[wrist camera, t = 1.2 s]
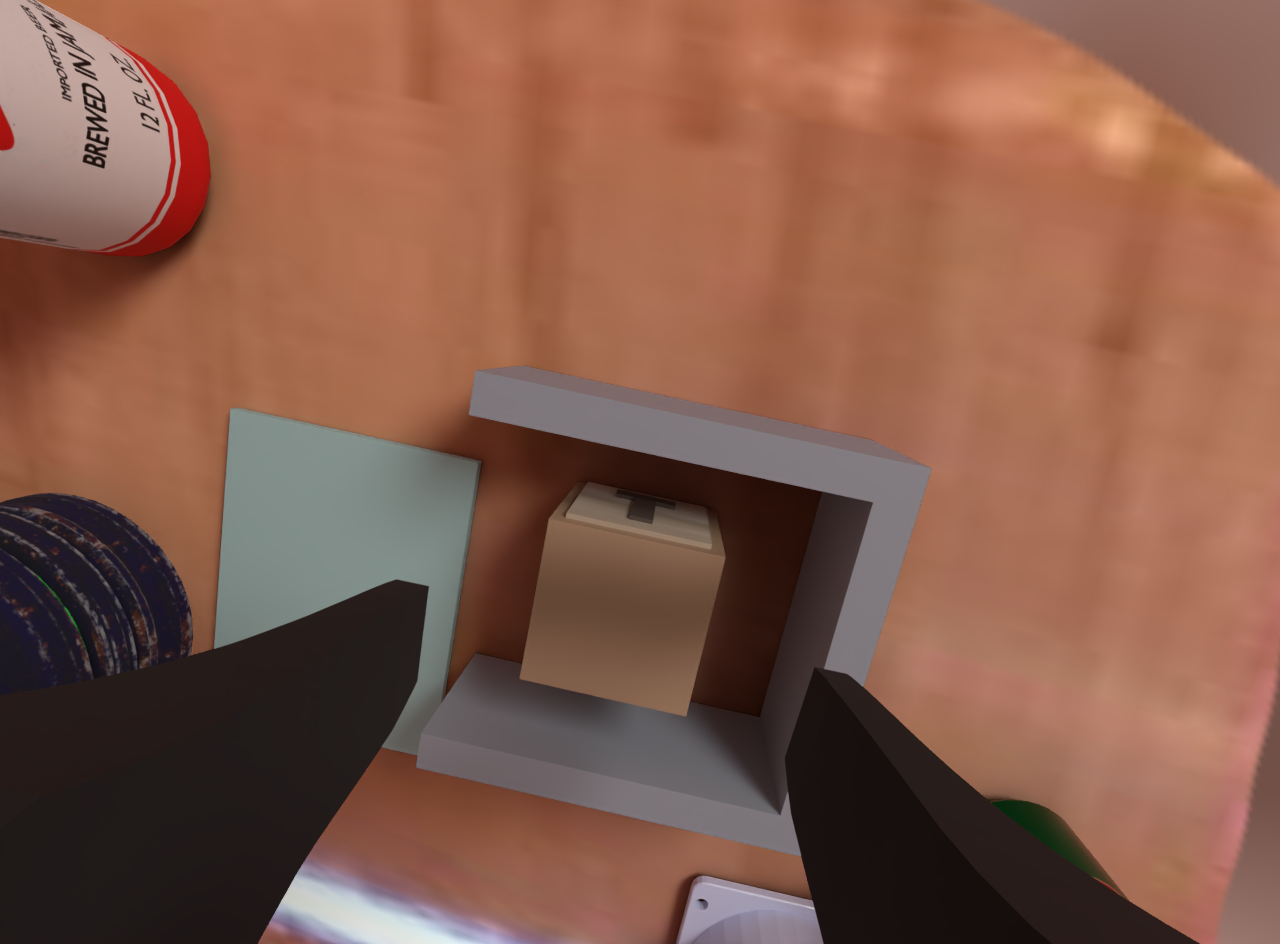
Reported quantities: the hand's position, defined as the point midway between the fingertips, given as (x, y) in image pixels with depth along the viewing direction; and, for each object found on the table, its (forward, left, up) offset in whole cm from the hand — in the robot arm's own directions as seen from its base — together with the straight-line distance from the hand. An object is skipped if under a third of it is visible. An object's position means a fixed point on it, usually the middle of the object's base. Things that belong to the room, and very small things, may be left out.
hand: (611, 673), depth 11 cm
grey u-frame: (-2, -1, -11) cm, 11 cm away
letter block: (-2, 0, -11) cm, 11 cm away
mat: (-5, +11, -11) cm, 16 cm away
